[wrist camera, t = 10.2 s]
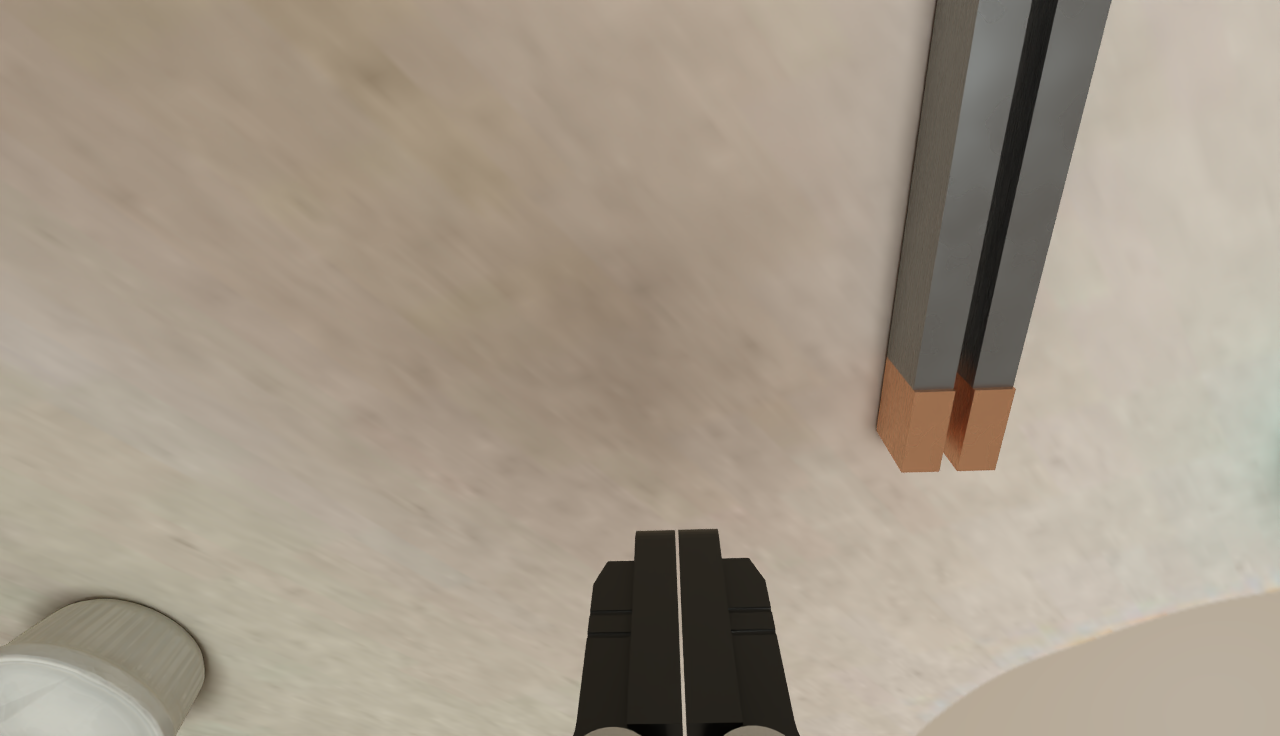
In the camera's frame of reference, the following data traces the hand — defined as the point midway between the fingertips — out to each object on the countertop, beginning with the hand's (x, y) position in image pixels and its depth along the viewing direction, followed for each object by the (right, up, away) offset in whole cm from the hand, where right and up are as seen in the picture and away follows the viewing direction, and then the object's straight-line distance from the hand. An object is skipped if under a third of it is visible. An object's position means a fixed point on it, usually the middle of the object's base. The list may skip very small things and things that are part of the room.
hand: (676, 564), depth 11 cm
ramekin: (-33, -14, +28) cm, 45 cm away
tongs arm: (+11, +11, +13) cm, 20 cm away
